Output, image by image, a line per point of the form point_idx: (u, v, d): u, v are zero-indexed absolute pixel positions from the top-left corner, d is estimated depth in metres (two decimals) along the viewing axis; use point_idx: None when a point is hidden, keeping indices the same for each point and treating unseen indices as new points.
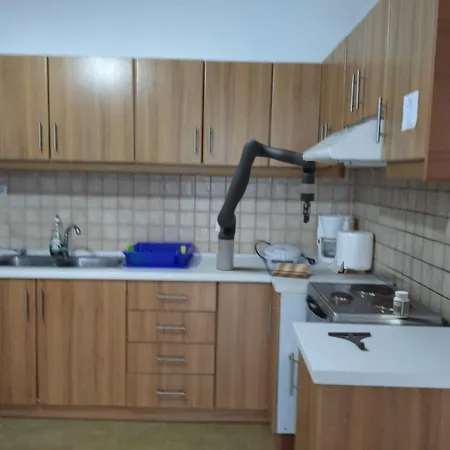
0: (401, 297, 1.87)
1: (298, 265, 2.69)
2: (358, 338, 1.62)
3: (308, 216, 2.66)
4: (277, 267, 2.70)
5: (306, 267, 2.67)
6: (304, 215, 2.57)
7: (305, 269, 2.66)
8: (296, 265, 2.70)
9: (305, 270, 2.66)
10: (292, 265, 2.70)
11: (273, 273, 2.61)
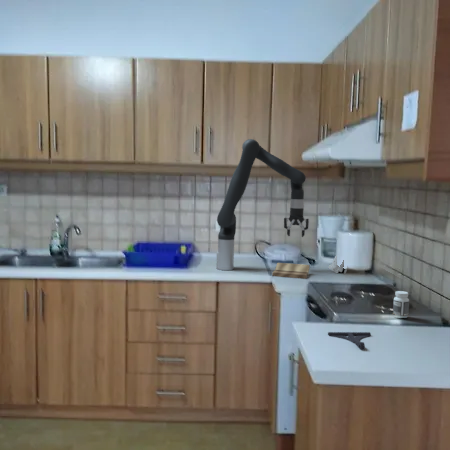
0: (401, 297, 1.87)
1: (298, 265, 2.69)
2: (358, 338, 1.62)
3: (289, 230, 2.76)
4: (277, 267, 2.70)
5: (306, 267, 2.67)
6: (305, 229, 2.73)
7: (305, 269, 2.66)
8: (296, 265, 2.70)
9: (305, 270, 2.66)
10: (292, 265, 2.70)
11: (273, 273, 2.61)
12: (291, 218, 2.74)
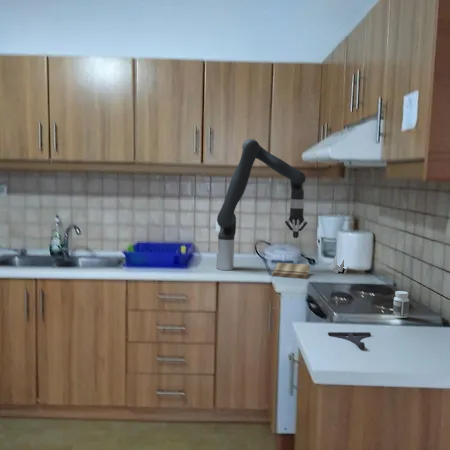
0: (401, 297, 1.87)
1: (298, 265, 2.69)
2: (358, 338, 1.62)
3: None
4: (277, 267, 2.70)
5: (306, 267, 2.67)
6: None
7: (305, 269, 2.66)
8: (296, 265, 2.70)
9: (305, 270, 2.66)
10: (292, 265, 2.70)
11: (273, 273, 2.61)
12: (291, 218, 2.74)
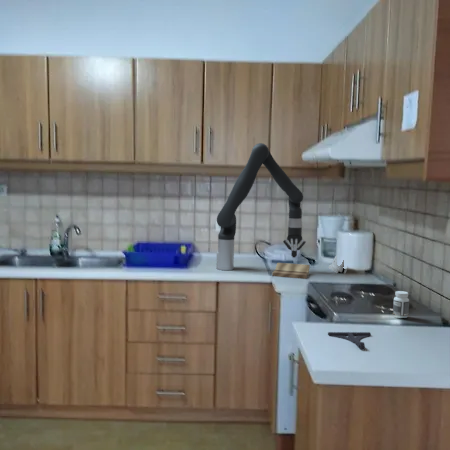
0: (401, 297, 1.87)
1: (298, 265, 2.69)
2: (358, 338, 1.62)
3: None
4: (277, 267, 2.70)
5: (306, 267, 2.67)
6: None
7: (305, 269, 2.66)
8: (296, 265, 2.70)
9: (305, 270, 2.66)
10: (292, 265, 2.70)
11: (273, 273, 2.61)
12: (289, 237, 2.70)
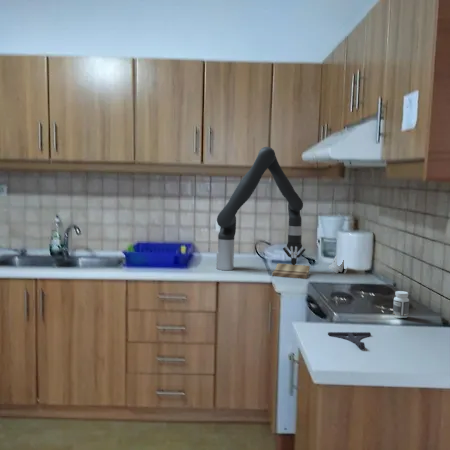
0: (401, 297, 1.87)
1: (298, 266, 2.70)
2: (358, 338, 1.62)
3: None
4: (277, 267, 2.71)
5: (307, 268, 2.68)
6: (297, 257, 2.72)
7: (305, 269, 2.67)
8: (296, 266, 2.70)
9: (305, 270, 2.66)
10: (292, 266, 2.71)
11: (273, 273, 2.61)
12: (289, 244, 2.72)
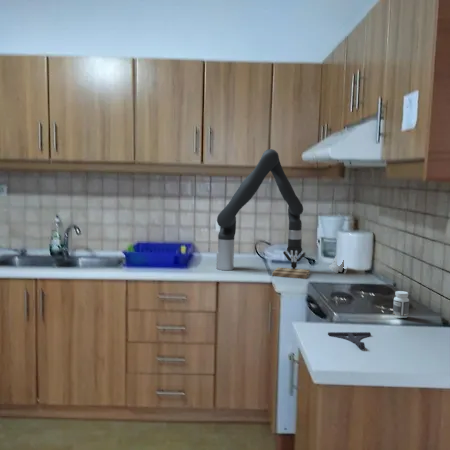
0: (401, 297, 1.87)
1: (298, 269, 2.71)
2: (358, 338, 1.62)
3: None
4: (277, 268, 2.72)
5: (307, 270, 2.69)
6: (297, 261, 2.73)
7: (305, 270, 2.68)
8: (296, 269, 2.72)
9: (305, 271, 2.67)
10: (292, 269, 2.72)
11: (273, 273, 2.61)
12: (289, 248, 2.72)
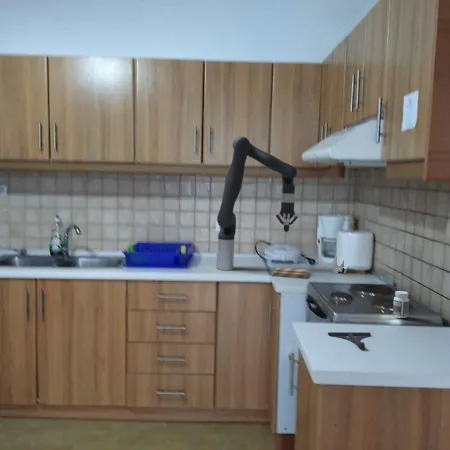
0: (401, 297, 1.87)
1: (298, 269, 2.71)
2: (358, 338, 1.62)
3: None
4: (277, 268, 2.72)
5: (307, 270, 2.69)
6: (289, 224, 2.77)
7: (305, 270, 2.68)
8: (296, 269, 2.72)
9: (305, 271, 2.67)
10: (292, 269, 2.72)
11: (273, 273, 2.61)
12: (282, 212, 2.77)
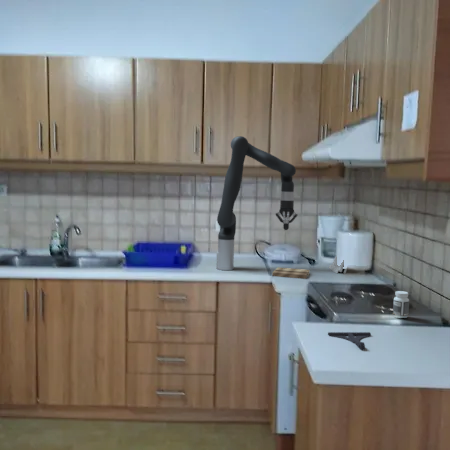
0: (401, 297, 1.87)
1: (298, 269, 2.71)
2: (358, 338, 1.62)
3: None
4: (277, 268, 2.72)
5: (307, 270, 2.69)
6: None
7: (305, 270, 2.68)
8: (296, 269, 2.72)
9: (305, 271, 2.67)
10: (292, 269, 2.72)
11: (273, 273, 2.61)
12: (281, 210, 2.77)
